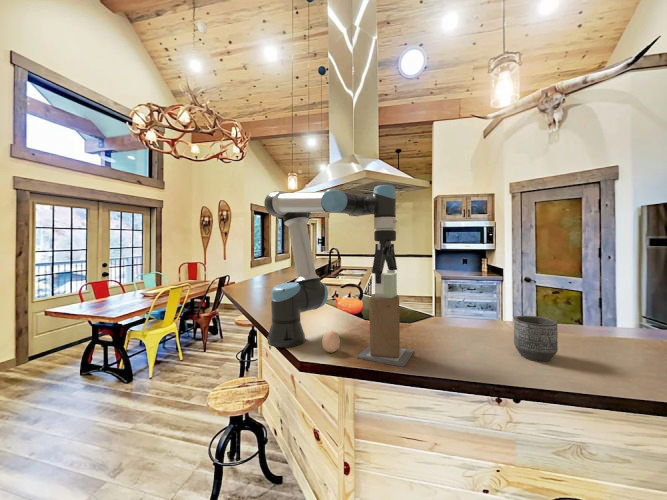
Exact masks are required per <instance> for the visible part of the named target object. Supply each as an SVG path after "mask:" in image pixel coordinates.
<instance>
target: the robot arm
mask: <svg viewBox="0 0 667 500" xmlns="http://www.w3.org/2000/svg"><path fill="white" fill-rule="evenodd" d="M396 200H397V196H396V187H395V186H394V185H391V184H380V185H376V186H374V187H373V192H372V193H368V194H367V193H366V194H358V193H353V192H350V191H349V192H348V191H344V190H341V189H338V188H336V189H335V188H329V189H327V190H326V191H310V192H307V191H306V192H289V191H288V192H287V191H284V190H283V191H281V190H274V191H271V192H269V193H268V194H267V195H266V196H265V198H264V203H263V204H264V208H265V211H266V212H267V213H268V214H269V215H270V216H272V217H275V218H280V219H281V218H282V220H283V224H284V225H285V226H286V227H288V232H289V238H290V244H291V250H292V255H293V261H294V262H293V263H294V268H295V273H296V279H295V280H294V282H285V283H280V284H276V285H275V286H273V288H272V289H271V295H270V300H271V301H270V302H271V303H270V304H271V325H270V328H269V332H268V335H267V344H268V345H269V346H271V347H274V348H292V347H297V346H300V345H302V344H303V343H304V342H306V341H305V340H306V335H305V332H304V327H303V326H302V322H301V313H305V312H308V311H312V310H313V311H314V310H318V309H320V308H323V307H324V305H325V304H326V302H327V301H328V298H329V289H328V288H327V286H326V284H325V283H323V281H321V277H320V276H319V275H317V273H316V268H315V262H314V261H315V260H314V257H313V252H312V247H311V241H310V235H309V229H308V223H309V221H310V217H311V216H312V213H315V214H317V213H318V214H319V213H325V214H326V213H327V214H330V213H331V214H346V215H348V216H350V217H361V216H368V215H369V216H370V215H373V217H374V218H373V229H374V230H375V231H374V233H373V235H374V237H373V238H374V241H375V242H378V243H375V247H374V249H375V251H374V256H373V261H372V270H371V273H372V274H373V275H374V294H375V293H380V294H383V293H384V278H383V274H382V273H384V268H385V263H386V266H387V270H386V271H387V272H386V273H396V271H397V270H398V266H397V260H396V259H397V258H396V254H395V244H394V243H392V242H395V241H396V240H397V231H396V230H395V229H396V228H397V227H396V226H397V225H396V224H397V223H398V220H397V219H396V218H397V217H396V203H397V201H396Z"/></svg>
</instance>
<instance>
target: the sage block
mask: <svg viewBox="0 0 667 500" xmlns="http://www.w3.org/2000/svg"><path fill="white" fill-rule="evenodd" d="M382 274H383V278H384V293H383V294H380V293H375V292H374V294H375V297H380V298H394V297H395V296H397V295H398V293H397V292H398V289H397V287H398V286H397V282H398V281H397V279H398V278H397V273H396V272H395V273H387V272H382Z"/></svg>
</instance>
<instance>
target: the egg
mask: <svg viewBox="0 0 667 500" xmlns="http://www.w3.org/2000/svg"><path fill="white" fill-rule="evenodd" d="M321 345H322V348H323V350H324V351H326V352H328V353H335V352H337V350H338V349H339V348H340V345H341V339H340V336H339V334H338V333H337V332H336V331H334V330H330V329H329V330H327V331H326V332H325V333H324V335H323V337H322V339H321Z"/></svg>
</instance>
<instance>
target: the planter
mask: <svg viewBox="0 0 667 500" xmlns="http://www.w3.org/2000/svg"><path fill="white" fill-rule="evenodd" d="M513 317H514V318H513V345H514V347H515V349H516V350H517V352H518V353H519V355H520V356H521V357H522V358H525V359H526V360H529V361H534V362H543V363H544V362H546V363H547V362H550V361H551V360H552V359H553V358H554V357H555V355H556V354H557V353H558V350H559V349H558V348H559V347H558V333H559V330H558V321H556V320H554V319H552V318H548V317H544V316H543V317H542V316H537V315H536V316H535V315H517V316H513Z"/></svg>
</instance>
